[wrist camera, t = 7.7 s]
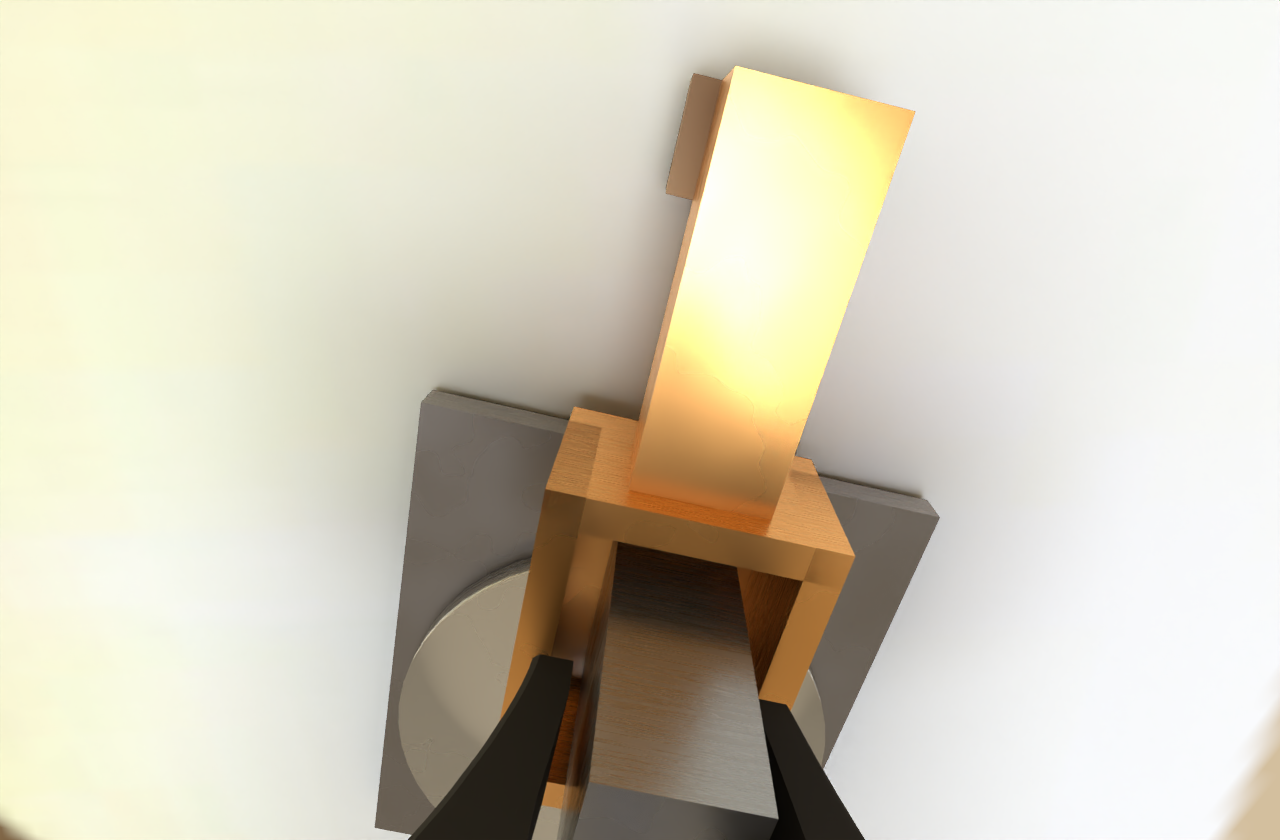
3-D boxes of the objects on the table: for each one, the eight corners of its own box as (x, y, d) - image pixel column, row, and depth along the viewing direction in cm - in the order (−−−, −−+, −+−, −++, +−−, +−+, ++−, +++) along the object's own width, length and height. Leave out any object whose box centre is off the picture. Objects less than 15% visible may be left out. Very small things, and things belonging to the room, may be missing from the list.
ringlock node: (759, 874, 22) (781, 1054, 17) (384, 803, 21) (313, 972, 17) (1072, 177, 13) (1262, 193, 9) (474, 26, 13) (378, -31, 8)
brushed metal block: (684, 662, 16) (696, 1003, 10) (587, 642, 16) (535, 974, 10) (729, 523, 15) (778, 819, 8) (623, 500, 15) (588, 781, 8)
